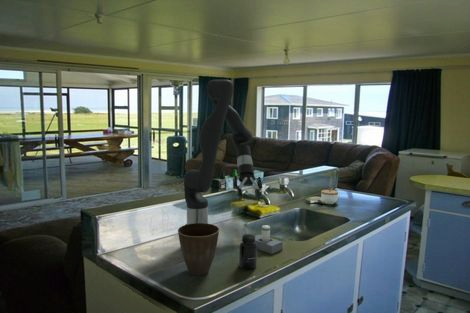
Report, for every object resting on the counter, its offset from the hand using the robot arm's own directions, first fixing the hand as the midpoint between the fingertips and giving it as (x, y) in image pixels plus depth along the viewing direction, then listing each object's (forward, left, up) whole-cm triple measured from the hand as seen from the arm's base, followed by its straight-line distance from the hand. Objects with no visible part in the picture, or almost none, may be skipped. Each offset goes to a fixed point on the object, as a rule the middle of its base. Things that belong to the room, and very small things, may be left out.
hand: (249, 197), depth 170 cm
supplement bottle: (-27, -24, -19) cm, 40 cm away
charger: (-7, -16, -18) cm, 25 cm away
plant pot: (-43, -14, -19) cm, 48 cm away
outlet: (-7, -16, -18) cm, 25 cm away
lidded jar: (+83, +4, -19) cm, 86 cm away
